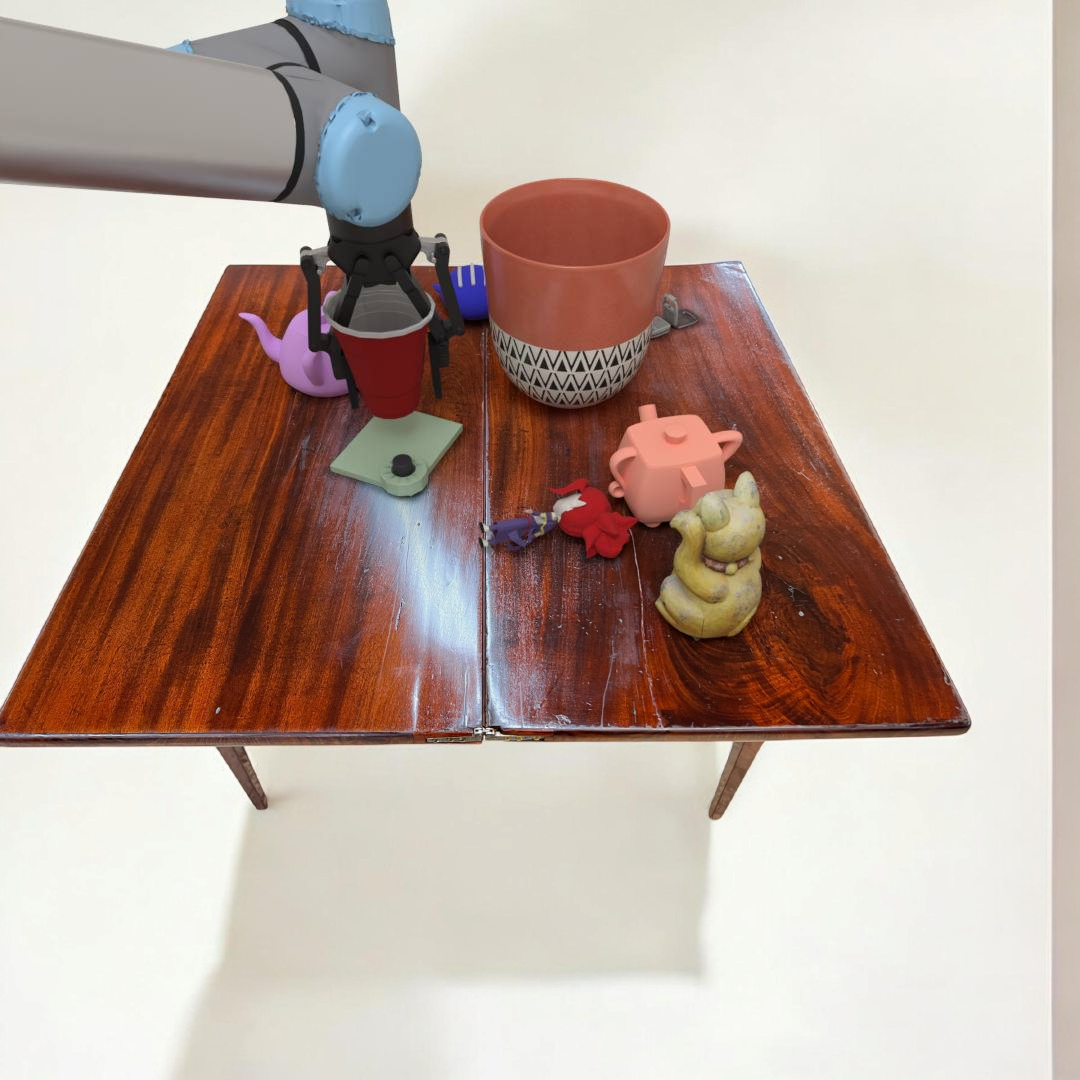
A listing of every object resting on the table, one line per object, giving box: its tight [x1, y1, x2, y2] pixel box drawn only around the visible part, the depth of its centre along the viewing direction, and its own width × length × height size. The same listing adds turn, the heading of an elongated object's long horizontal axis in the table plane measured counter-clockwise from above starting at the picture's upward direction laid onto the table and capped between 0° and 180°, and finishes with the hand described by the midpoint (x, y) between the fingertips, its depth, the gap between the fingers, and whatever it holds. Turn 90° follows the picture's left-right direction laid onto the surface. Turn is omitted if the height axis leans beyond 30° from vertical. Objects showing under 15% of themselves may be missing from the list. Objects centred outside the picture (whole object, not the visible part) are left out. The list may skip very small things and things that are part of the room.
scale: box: [329, 410, 464, 497], centre depth 93 cm, size 13×11×2 cm
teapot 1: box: [238, 290, 358, 398], centre depth 101 cm, size 12×14×9 cm
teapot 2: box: [608, 403, 744, 528], centre depth 86 cm, size 12×12×10 cm
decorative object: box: [432, 262, 489, 321], centre depth 113 cm, size 10×6×10 cm
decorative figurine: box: [654, 470, 766, 642], centre depth 74 cm, size 10×8×15 cm
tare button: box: [392, 454, 413, 477], centre depth 89 cm, size 2×2×2 cm
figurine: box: [477, 477, 639, 559], centre depth 83 cm, size 6×8×15 cm
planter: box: [478, 177, 672, 410], centre depth 95 cm, size 20×20×21 cm
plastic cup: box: [322, 283, 436, 419], centre depth 87 cm, size 11×11×12 cm
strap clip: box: [650, 293, 700, 339], centre depth 111 cm, size 8×3×4 cm, turn 121°
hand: (396, 395), depth 91 cm, fingers closed on plastic cup, 8 cm apart
